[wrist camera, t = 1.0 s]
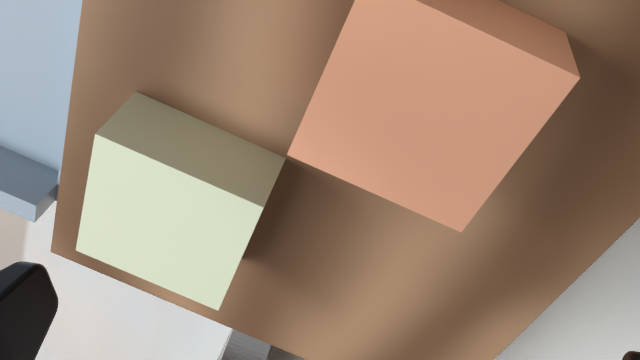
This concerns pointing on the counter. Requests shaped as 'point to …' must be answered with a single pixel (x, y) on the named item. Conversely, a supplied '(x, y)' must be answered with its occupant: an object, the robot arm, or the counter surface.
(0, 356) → the robot arm
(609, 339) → the counter surface
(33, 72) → the box
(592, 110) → the wood-grain brown block
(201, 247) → the sage tile
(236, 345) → the grey rectangular bar
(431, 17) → the terracotta tile
